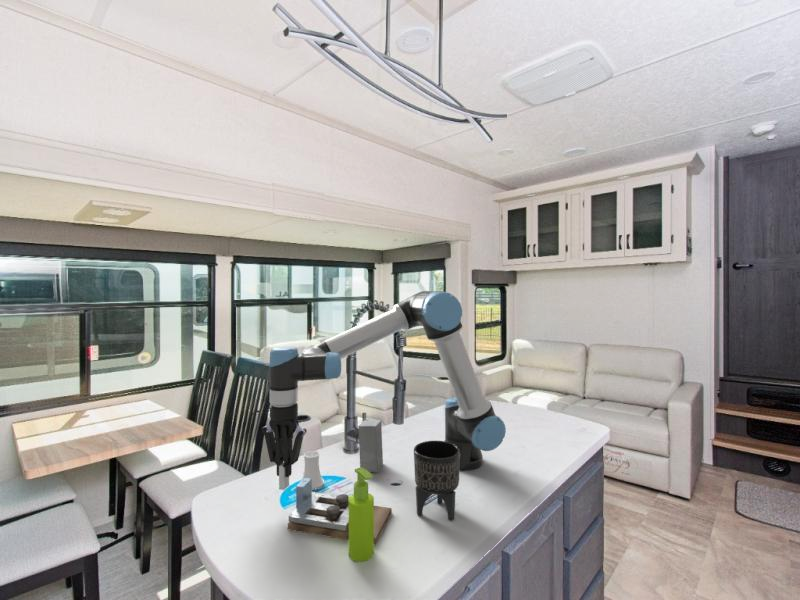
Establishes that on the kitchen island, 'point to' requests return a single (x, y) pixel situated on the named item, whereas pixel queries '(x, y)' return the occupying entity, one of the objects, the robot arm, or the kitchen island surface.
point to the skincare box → (370, 445)
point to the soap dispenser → (361, 519)
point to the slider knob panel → (316, 508)
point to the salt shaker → (313, 469)
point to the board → (379, 518)
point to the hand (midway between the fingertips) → (284, 487)
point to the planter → (436, 473)
